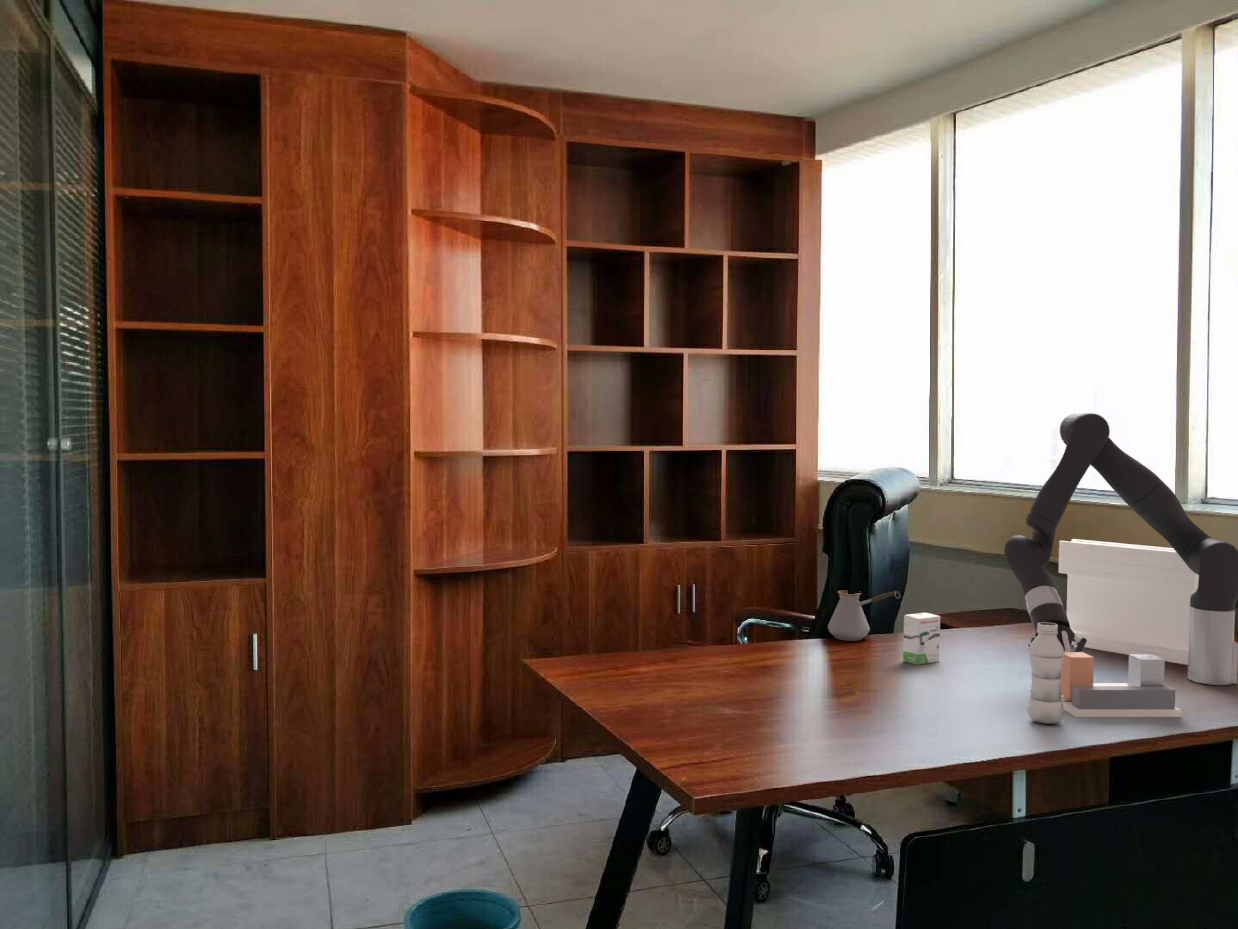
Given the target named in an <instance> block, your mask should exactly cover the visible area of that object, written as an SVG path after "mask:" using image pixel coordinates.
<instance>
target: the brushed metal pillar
mask: <svg viewBox="0 0 1238 929" xmlns="http://www.w3.org/2000/svg"><path fill="white" fill-rule="evenodd" d="M1165 662H1166V661H1165V660H1164V659H1162V658H1159V657H1157V656H1155V655H1152V654H1129V655H1128V669H1127V670H1128V673H1127V674H1128V678H1127V680H1128V681H1127V684H1128V686H1165V666H1166V665H1165V664H1166V663H1165Z"/></svg>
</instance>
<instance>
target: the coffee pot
mask: <svg viewBox="0 0 1238 929" xmlns="http://www.w3.org/2000/svg"><path fill="white" fill-rule="evenodd" d="M837 594H838V596H839V600H838V603H837V604H836V607H835V609H834V612H833V614H832V615H831V619H829V620H830V621H829V623H828V625H827V629H828V632H829V633H830V634H831V635H832V636H834V638H835V639H837V640H840V641H841V640H842V641H852V642H853V641H860V640H861V641H862V640H863V638H865V637H866V636H867V635H868V634H869V632H870V630H871V628H870V626H869V623H868V620H867V617H866V615H865V613H864V609H863V607H862V606H863V605H866V604H870V603H871V602H877V601H880V600H885V599H887V598H888V597H892V596H894V597H895V598H896V599H900V598H901V594H900V592H899V591H897V590H893V591H892V592H891V591H888V592H887V593H882V594H879V595H876V596H875V597H871V598H869V599H867V600H863V601H860V600H859V599H860V595H862V592H861V593H855V594H848V589H847V590H838V591H837ZM896 594H898V596H899V597H897V596H896Z"/></svg>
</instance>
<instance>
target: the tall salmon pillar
mask: <svg viewBox="0 0 1238 929" xmlns="http://www.w3.org/2000/svg"><path fill="white" fill-rule="evenodd" d="M1094 664H1095V657H1094V656H1091V655H1090V654H1087V653H1085V652H1084V651H1081V652H1074V651H1070V652H1064V658H1063V664H1062V670H1061V678H1060V679H1061V695H1062V696H1064V697H1066V698H1067V699H1069V700H1073V686H1093V683H1094V669H1095V667H1094V666H1095V665H1094Z"/></svg>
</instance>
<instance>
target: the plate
mask: <svg viewBox="0 0 1238 929" xmlns="http://www.w3.org/2000/svg"><path fill="white" fill-rule="evenodd" d="M1031 684H1032V682H1030V685H1031ZM1030 691H1031V688H1030ZM1061 698H1062V700H1061V701H1062V703H1063V710H1064V712H1066V713H1068V714H1069V715H1071V716H1072V717H1074V718H1181V717H1182V709H1180V708H1178V707H1176V689H1174V688H1172V687H1170V686H1165V685H1164V686H1128V682H1127V683H1126V682H1123V683H1121V682H1117V683H1116V682H1113V683H1112V682H1110V683H1109V682H1105V683H1104V682H1102V683H1101V682H1098V683H1097V682H1093V686H1073V700H1069V699H1067V698H1066V697H1064V696H1062V695H1061Z"/></svg>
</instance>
